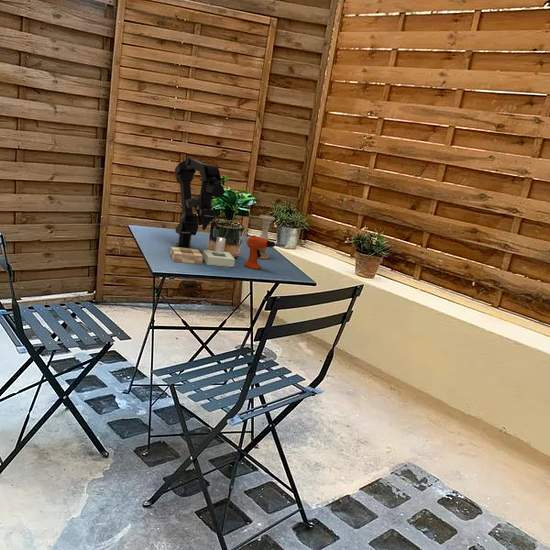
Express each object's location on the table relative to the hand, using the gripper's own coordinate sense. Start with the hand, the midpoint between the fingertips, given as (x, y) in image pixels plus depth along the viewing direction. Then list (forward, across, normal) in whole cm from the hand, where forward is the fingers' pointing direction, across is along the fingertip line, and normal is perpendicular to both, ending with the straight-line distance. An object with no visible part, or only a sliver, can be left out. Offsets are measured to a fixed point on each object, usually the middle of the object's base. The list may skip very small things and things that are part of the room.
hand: (201, 227), depth 245 cm
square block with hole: (+13, +9, +8) cm, 18 cm away
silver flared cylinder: (+13, +9, +7) cm, 17 cm away
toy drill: (+13, +16, +26) cm, 33 cm away
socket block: (+13, +9, -7) cm, 17 cm away
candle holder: (+13, -8, +33) cm, 36 cm away
